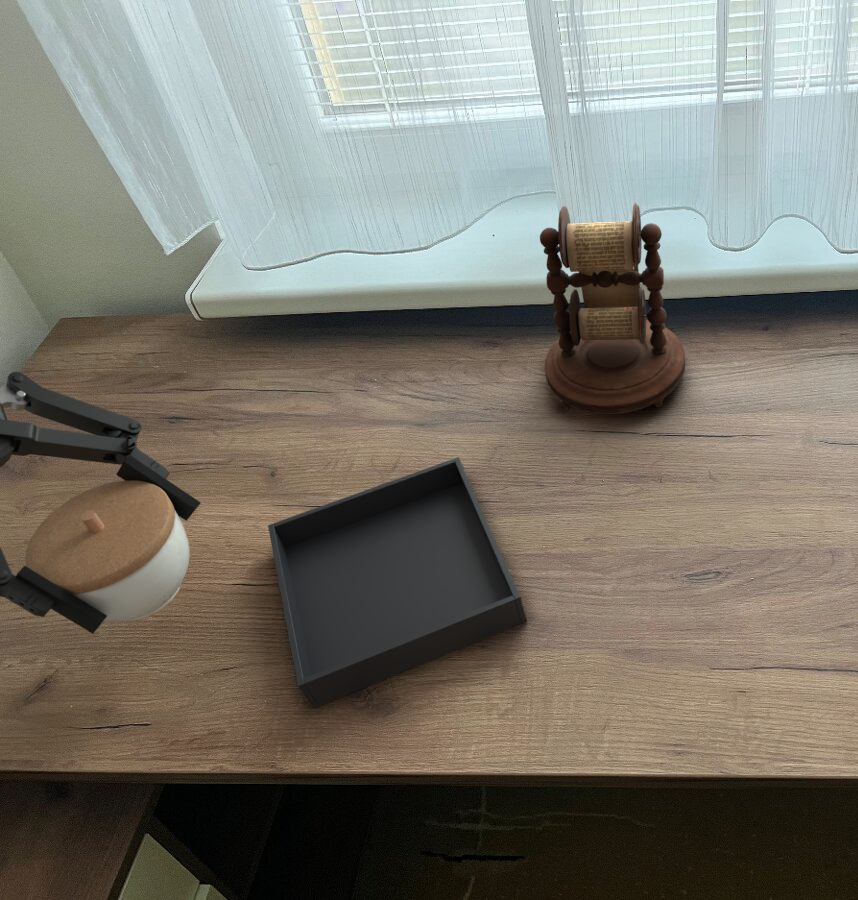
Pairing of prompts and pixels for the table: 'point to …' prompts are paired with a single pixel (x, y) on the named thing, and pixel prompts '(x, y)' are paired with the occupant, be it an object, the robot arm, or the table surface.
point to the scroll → (609, 317)
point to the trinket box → (114, 549)
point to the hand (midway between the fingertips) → (149, 565)
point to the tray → (390, 581)
